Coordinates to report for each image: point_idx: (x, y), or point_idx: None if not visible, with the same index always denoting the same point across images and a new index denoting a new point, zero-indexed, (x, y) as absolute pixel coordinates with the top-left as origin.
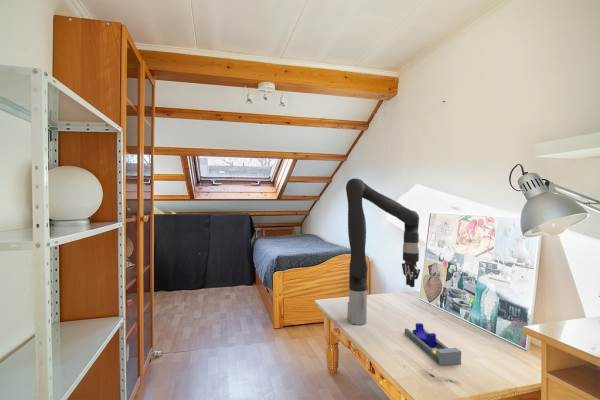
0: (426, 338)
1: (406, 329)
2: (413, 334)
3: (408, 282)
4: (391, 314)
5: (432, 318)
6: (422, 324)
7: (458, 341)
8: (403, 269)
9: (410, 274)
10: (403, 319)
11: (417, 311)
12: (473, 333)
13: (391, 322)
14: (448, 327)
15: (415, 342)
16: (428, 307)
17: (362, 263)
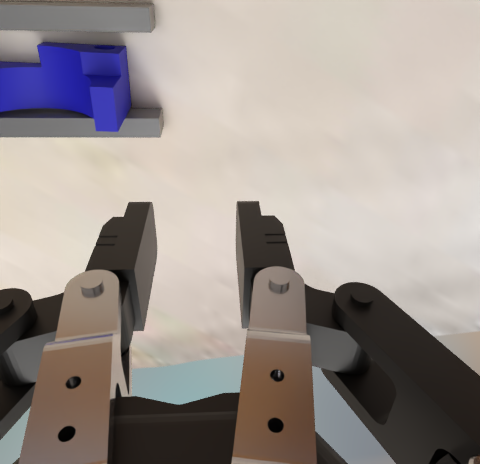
0: (46, 96)
1: (136, 15)
2: (53, 21)
3: (239, 243)
4: (450, 78)
5: (316, 268)
6: (95, 126)
7: (61, 242)
8: (431, 375)
9: (47, 350)
10: (353, 117)
11: (417, 246)
12: (140, 332)
13: (337, 6)
14: (207, 279)
15: (10, 1)
16: (435, 314)
17: None
